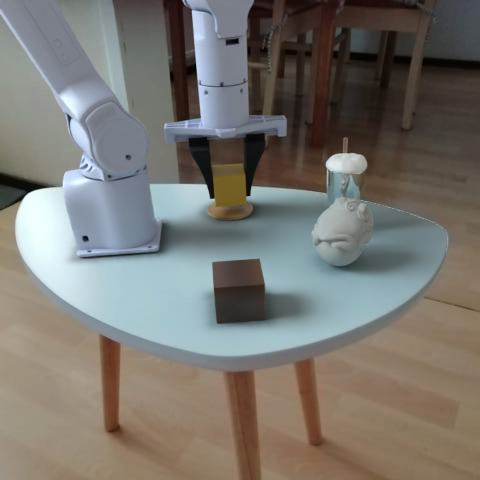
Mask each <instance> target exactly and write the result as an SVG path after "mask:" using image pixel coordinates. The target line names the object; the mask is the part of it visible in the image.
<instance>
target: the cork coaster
mask: <svg viewBox="0 0 480 480" xmlns="http://www.w3.org/2000/svg"><path fill="white" fill-rule="evenodd" d="M246 203H247V204H246V205H236V206H222V207H216V206H215V201H214V202H212V203H211V204H209V206H208V207H207V214H208V215H209V217H211V218H212V219H215V220H219V221H227V222H229V221H230V222H231V221H237V220H242V219H244V218H247V217H249V216H250V215H251V214H252V213H253V211H254V206H253V205H252V203H251V202H249V201H247V200H246Z"/></svg>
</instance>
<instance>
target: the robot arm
mask: <svg viewBox="0 0 480 480" xmlns="http://www.w3.org/2000/svg"><path fill="white" fill-rule="evenodd" d="M181 1H182V2H183V4H184V6H185V7H187V8H189V9H190V10H191V17H192V29H193V43H194V53H195V64H196V75H197V76H196V77H197V89H198V100H199V111H200V118H194V119H187V120H182V121H174V122H165V123H164V126H163V132H164V138H165V144H166V145H174V144H176V143H179V142H181V143H182V142H188V151H189V153H190V155H191V157H192V159H193V160H194V162H195V163H196V165H197V167H198V169H199V170H200V173H201V175H202V177H203V180H204V182H205V185H206V187H207V188H206V189H207V191H208V196H209V199H210V200H215V194H214V181H213V169H212V159H211V147H210V140H225V139H238V138H242V147H243V148H242V150H243V166H244V171H245V176H246V198H247V197H251V195H252V186H253V182H254V177H255V175H256V171H257V169H258V165H259V163H260V161H261V159H262V157H263V155H264V153H265V150H266V146H267V142H266V137H268V136H277V137H280V138H281V137H287V136H288V135H287V130H288V119H287V118H286V116H285V115H261V114H260V115H258V114H253V115H252V114H250V108H249V107H250V104H249V69H248V39H247V38H248V37H247V35H248V34H247V30H248V16H249V13H250V10H251V8H252V6H253V4H254V2H255V0H181ZM0 16H1V17H2V19H3V20H4V22H5V23H6V25H7V27H8V28H9V30H10V31H11V32H12V33H13V35H14V37H15V38H16V40H17V41H18V44H20V45H21V47H22V49H23V50H24V51H25V53H26V55H27V56H28V58H29V59H30V60H31V62H32V63H33V65H34V66H35V68H36V69H37V71H38V72H39V75H41V77H42V79H43V80H44V81H45V82H46V84H47V86H48V87H49V89H50V91H51V92H52V93H53V94H52V95H53V96H54V99H55V101H56V103H57V104H58V106H59V108H60V109H61V110H62V112H63V114H64V116H65V119H66V124H67V131H68V134H69V136H70V138H71V140H72V141H73V143H74V145H76V147H77V148H79V149H80V150H81V151H83V152H82V153H83V154H82V156H81V158H80V159H81V160H80V164H79V168H78V169H77V168H76V169H70V170H66V171H65V172H64V175H63V178H62V193H63V200H64V205H65V208H66V212H67V217H68V220H69V223H70V227H71V231H72V235H73V238H74V242H75V245H76V249H77V250H76V256H77V257H78V258H85V257H87V258H88V257H98V256H99V257H101V256H110V255H111V256H114V255H127V254H143V253H154V252H155V253H156V252H158V251H159V250H160V245H161V237H162V230H163V229H162V228H163V219H162V218H156V216H155V210H154V202H153V198H152V191H151V184H150V179H149V178H150V177H149V173H148V166H147V159H148V157H149V153H150V148H151V144H150V143H151V140H150V136H149V133H148V130H147V128H146V126H145V125H144V124H143V122H142V121H141V120H140V119H139V118H138V117H136V116H134V114H132V113H130V112H129V111H127V110H126V109H125V108H124V106H123V105H122V104H121V102H120V100H119V98H118V96H117V95H116V94H115V92H114V91H113V90H112V89H111V88H110V86H109V85H108V84H107V83H106V81H105V80H104V78H102V76H101V75H100V74H99V72H98V70H97V69H96V68H95V66H94V64H93V63H92V61H91V59H90V57H89V56H88V54H87V52H86V51H85V49H84V47H83V46H82V44H81V42H80V41H79V39H78V37H77V35H76V34H75V32H74V30H73V29H72V27H71V25H70V23H69V21H68V20H67V19H66V17H65V15H64V13H63V12H62V10H61V9H60V7H59V5H58V3H57V1H56V0H0Z"/></svg>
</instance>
